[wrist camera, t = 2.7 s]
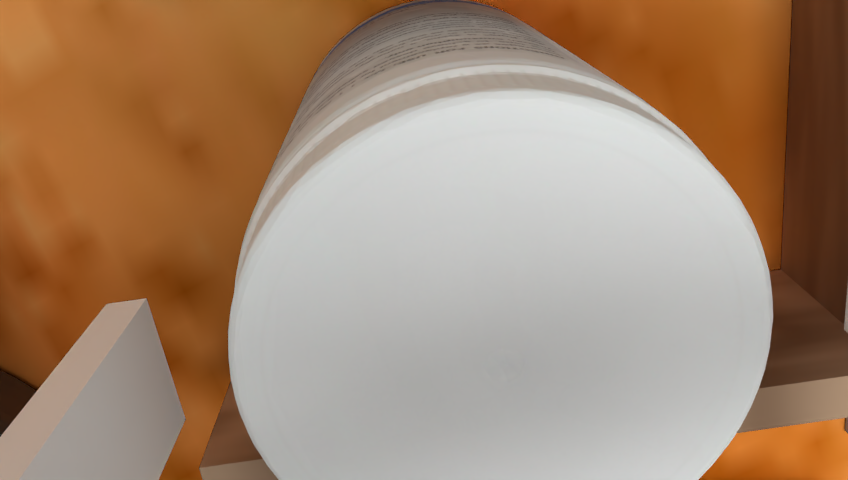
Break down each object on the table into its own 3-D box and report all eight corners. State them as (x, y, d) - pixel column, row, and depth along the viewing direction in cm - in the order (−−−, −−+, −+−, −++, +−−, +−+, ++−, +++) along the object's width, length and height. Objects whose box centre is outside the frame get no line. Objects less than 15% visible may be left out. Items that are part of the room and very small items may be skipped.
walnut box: (251, 380, 29) (211, 507, 23) (123, -87, 23) (16, -94, 16) (818, 298, 29) (940, 404, 22) (851, -203, 22) (1036, -257, 16)
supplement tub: (259, 193, 26) (118, 469, 13) (378, -63, 23) (357, -54, 10) (496, 302, 28) (589, 641, 15) (634, 79, 25) (909, 251, 12)
